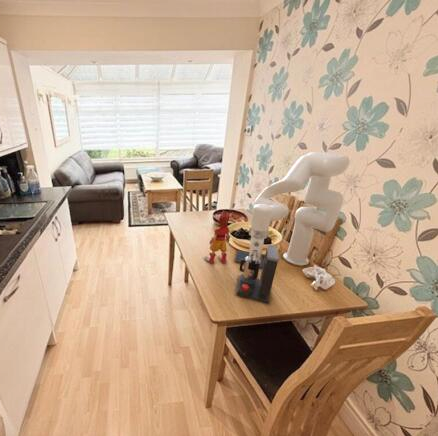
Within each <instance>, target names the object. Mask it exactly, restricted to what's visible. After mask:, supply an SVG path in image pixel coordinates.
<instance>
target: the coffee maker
mask: <svg viewBox="0 0 438 436" xmlns="http://www.w3.org/2000/svg"><path fill="white" fill-rule="evenodd" d="M257 280H258V281H257V283H256V284H253V285H251V284H246V283H244V282H243V281H241V279H240V277H239V278H238V285H237V291H236V296H238V297H241V298H245V299H249V300H253V301H257V302H259V303H260V302H261V303H263V304H267V305H268V304H269V295H265V294H261V293H259V289H260V278H257ZM243 284H246V285H248V286H249V290H248V291H243V290H242V285H243Z"/></svg>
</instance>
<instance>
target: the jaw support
mask: <svg viewBox="0 0 438 436" xmlns="http://www.w3.org/2000/svg"><path fill="white" fill-rule="evenodd" d="M326 270H327V269H326V268H323V267H320V266H318V265H316V264H314V265H313V266H310V267H306V268H303V269H301V271H302V272H303V274H304V275H305V276H306V277H307V278H312V279H315V280H313V282H312V283H311V284H310V285H311V287H313V288H314V289H315V290H316V291H318V288H319V287H320V288H321V289H322V290H324V291H326V290H327V289H329V288H330V287H333V286H334V285H335V284H336V279H334V278H333V276H332V274H329V273H328V272H327V271H326Z"/></svg>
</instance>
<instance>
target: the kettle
mask: <svg viewBox="0 0 438 436" xmlns="http://www.w3.org/2000/svg"><path fill="white" fill-rule="evenodd" d="M250 258H251V257H250V256H248V257H246V259H242V260H241V262H240V263H239V271H240V272H242V274H243V276H244V277H245V278H247V279H250V280H255V279H259V278H258V277H259V272H260V269H261V268H260V263H261V260H260V259H259V258H257V265H256V270H255V271H254V270H249V269H248V266H249V261H250ZM252 259H253V258H252ZM243 262H245V264H243Z"/></svg>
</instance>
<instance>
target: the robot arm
mask: <svg viewBox="0 0 438 436" xmlns="http://www.w3.org/2000/svg"><path fill="white" fill-rule="evenodd" d="M349 166H350V158H349V157H348V156H347V155H345V154H339V153H331V152H323V151H310V152H308V153H307V154H304V155H302V156H300V157H299V158H298V159H297V160H296V162H295V163H294V165H293V166H292V167H291V168H290V169H289V171H288V172H287V174H286V175H285V176H284V177H283V179H281V180H279V181H276V182H274V183H272V184H269V185H268V186H267V187H265V188H264V189H263V190H262V191H261V192H260V193H259V195H257V197H256V199H255V201H254V202H253V206H252V207H253V208H252V213H251V218H250V224H249V231H248V234H249V236H250V241H249V252H250V253H249V256H250V257H251V258H250V261H249V266H248V269H249V270H254V271H255V270H256V265H257V257H258V258H259V259H260V258H261V255H263V248H264V245H265V239H267V238H268V235H269V231H270V226H271V222H273V221H274V222H275V221H282V220H284V219H286V217H288V214H289V212H290V209H289V207H288V206H287V204H285V203H282V202H280V201H276V200H273V199H272V198H273V197H275V196H277V195H281V194H282V195H283V194H289V193H295V192H299V191H301V190H302V189H303V188H304V187H305V185H306V184H307V187H306V190H305V192H304V197H303V198H304V199H303V201H304V203H305V204H306V205H309V206H301V207H299V208H298V209H296V211H295V214H294V227H293V230H292V234H291V238H290V241H289V244H288V245H289V246H288V248H287V252H284V253H283V254H282V257H283V259H284V260H285V261H286V262H287V263H289V264H291V265H295V266H302V267H303V266H308V265H309V263H310V260H309V258H308V256H309V255H308V254H309V251H310V249H311V245H312V242H313V239H314V236H315V231H314V229H315V230H318V231H321V232H325V233H327V232H331V231H332V230H333V229H334V227H335V225H336V223H337V220H338V217H339V215H340V212H341V209H342V207H343V203H344V195H343V194H342V193H341V192H340V191H336V190H331V189H329V186H330V183H331V179H332V177H335V176H339V175H341V174H343V173H344V172H345V171H346V170H347V169H348V167H349ZM307 182H308V183H307ZM314 207H315V208H314ZM320 209H321V210H320ZM252 258H253V259H252Z"/></svg>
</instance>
